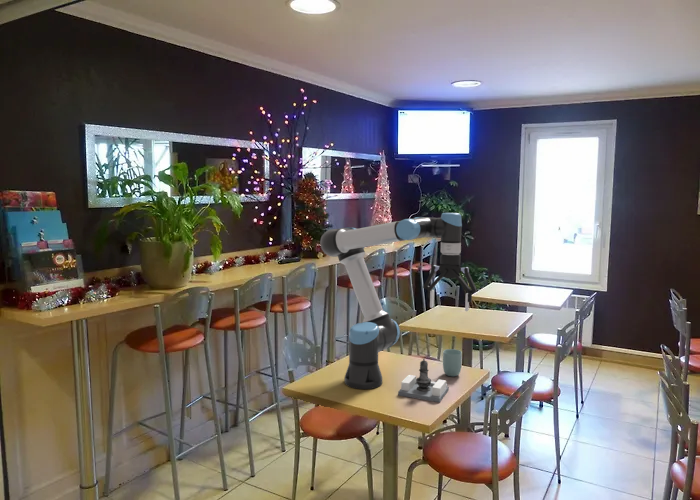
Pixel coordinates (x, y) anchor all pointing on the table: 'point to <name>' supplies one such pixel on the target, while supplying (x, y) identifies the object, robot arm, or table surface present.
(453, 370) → the cup
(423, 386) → the salt shaker
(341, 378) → the table surface
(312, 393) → the table surface
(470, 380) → the table surface
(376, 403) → the table surface
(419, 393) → the rail board
